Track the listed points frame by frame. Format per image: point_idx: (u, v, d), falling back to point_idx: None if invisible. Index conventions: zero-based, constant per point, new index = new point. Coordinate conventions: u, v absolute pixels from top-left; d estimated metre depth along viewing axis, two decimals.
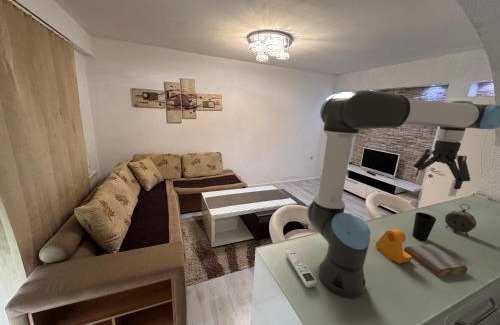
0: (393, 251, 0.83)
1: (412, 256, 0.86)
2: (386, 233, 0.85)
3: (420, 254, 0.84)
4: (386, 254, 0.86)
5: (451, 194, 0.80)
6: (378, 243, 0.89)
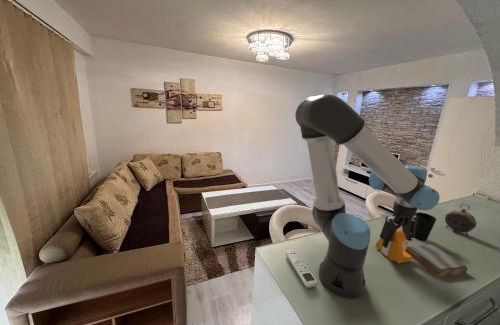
0: (393, 251, 0.83)
1: (412, 256, 0.86)
2: None
3: (420, 254, 0.84)
4: None
5: (382, 250, 0.87)
6: (378, 243, 0.89)
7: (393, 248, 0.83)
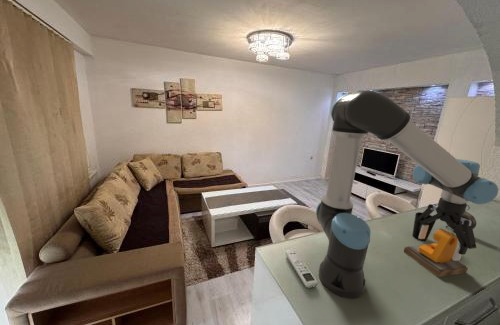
0: (452, 251, 0.80)
1: (412, 256, 0.86)
2: (448, 241, 0.77)
3: (420, 254, 0.84)
4: (445, 259, 0.80)
5: (455, 259, 0.76)
6: (440, 256, 0.78)
7: (452, 249, 0.79)
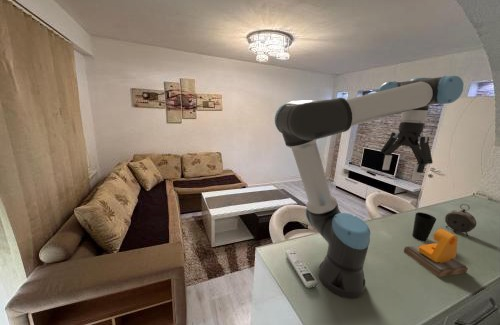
0: (452, 251, 0.80)
1: (412, 256, 0.86)
2: (449, 241, 0.77)
3: (420, 254, 0.84)
4: (445, 259, 0.80)
5: (414, 178, 0.76)
6: (440, 256, 0.78)
7: (452, 249, 0.79)
